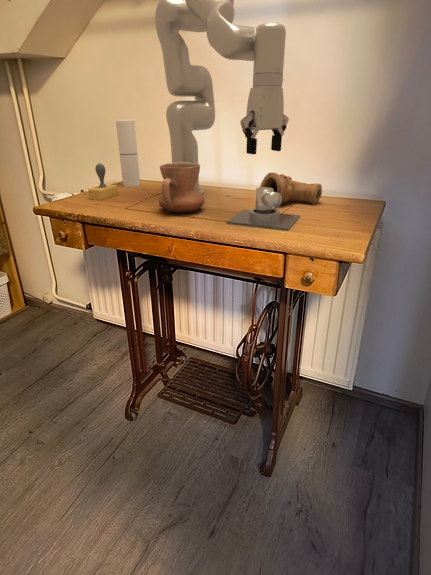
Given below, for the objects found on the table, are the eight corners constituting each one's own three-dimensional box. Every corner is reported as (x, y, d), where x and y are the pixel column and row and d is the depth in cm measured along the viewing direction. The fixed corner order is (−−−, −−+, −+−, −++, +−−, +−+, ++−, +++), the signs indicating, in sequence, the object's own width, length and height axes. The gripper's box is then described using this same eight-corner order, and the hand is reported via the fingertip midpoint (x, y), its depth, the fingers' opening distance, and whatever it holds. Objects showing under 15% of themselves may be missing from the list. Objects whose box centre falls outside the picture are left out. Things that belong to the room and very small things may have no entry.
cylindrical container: (120, 186, 160) (112, 120, 149) (126, 183, 166) (119, 119, 156) (136, 187, 159) (130, 120, 148) (142, 183, 165) (136, 119, 154)
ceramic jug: (178, 202, 135) (175, 159, 129) (214, 206, 129) (214, 162, 122) (145, 214, 121) (141, 167, 115) (184, 220, 114) (182, 170, 108)
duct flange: (226, 223, 111) (226, 213, 110) (243, 211, 123) (243, 202, 121) (288, 230, 105) (289, 220, 103) (300, 217, 116) (300, 208, 115)
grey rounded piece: (251, 217, 114) (252, 188, 110) (264, 215, 117) (265, 186, 113) (268, 223, 109) (270, 192, 105) (281, 220, 111) (283, 190, 108)
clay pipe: (269, 207, 142) (252, 203, 129) (273, 177, 140) (256, 170, 127) (319, 212, 133) (307, 208, 120) (325, 180, 131) (312, 173, 118)
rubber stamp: (101, 200, 138) (96, 165, 133) (88, 199, 141) (83, 164, 136) (119, 195, 147) (115, 161, 141) (106, 193, 149) (102, 161, 144)
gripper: (279, 82, 107) (275, 148, 114) (232, 81, 97) (231, 153, 105) (301, 82, 102) (294, 151, 109) (253, 81, 92) (250, 156, 99)
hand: (263, 152), depth 107 cm, fingers open, 9 cm apart
